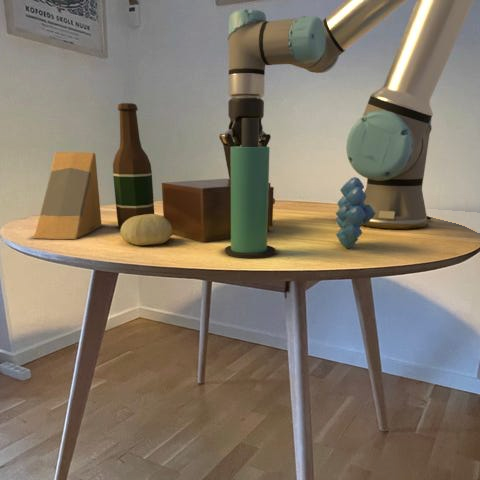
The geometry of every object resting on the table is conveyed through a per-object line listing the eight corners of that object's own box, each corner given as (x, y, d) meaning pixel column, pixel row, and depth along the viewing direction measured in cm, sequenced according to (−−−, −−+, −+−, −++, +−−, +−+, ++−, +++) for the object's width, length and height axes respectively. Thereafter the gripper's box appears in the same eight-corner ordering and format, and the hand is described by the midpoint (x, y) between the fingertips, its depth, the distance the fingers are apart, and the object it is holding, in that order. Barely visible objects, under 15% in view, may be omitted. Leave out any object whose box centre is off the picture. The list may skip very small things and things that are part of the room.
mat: (251, 244, 84) (251, 241, 84) (285, 253, 78) (285, 249, 78) (214, 251, 79) (214, 248, 78) (247, 260, 73) (247, 257, 73)
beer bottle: (162, 225, 101) (155, 104, 92) (138, 231, 95) (128, 101, 86) (135, 222, 105) (126, 105, 96) (110, 228, 98) (97, 102, 90)
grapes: (380, 256, 76) (389, 179, 72) (338, 255, 76) (345, 179, 72) (364, 241, 87) (371, 174, 83) (328, 240, 87) (333, 173, 83)
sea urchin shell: (107, 231, 85) (132, 196, 86) (137, 256, 90) (160, 224, 91) (131, 238, 78) (158, 201, 80) (162, 266, 84) (187, 230, 85)
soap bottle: (250, 243, 82) (251, 119, 74) (274, 249, 77) (278, 118, 70) (223, 248, 78) (222, 118, 71) (247, 255, 74) (248, 117, 66)
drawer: (248, 216, 108) (248, 181, 105) (286, 223, 99) (288, 185, 96) (176, 226, 96) (174, 186, 93) (213, 235, 87) (212, 192, 84)
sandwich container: (31, 238, 88) (18, 154, 82) (64, 224, 102) (54, 151, 97) (76, 239, 87) (65, 154, 82) (102, 225, 102) (95, 152, 96)
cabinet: (227, 222, 105) (227, 178, 102) (269, 231, 96) (270, 183, 92) (164, 231, 95) (161, 182, 92) (204, 242, 85) (202, 188, 82)
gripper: (257, 100, 105) (255, 207, 113) (210, 97, 97) (212, 212, 106) (280, 99, 99) (276, 211, 108) (233, 95, 92) (233, 217, 100)
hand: (244, 212), depth 107 cm, fingers closed
